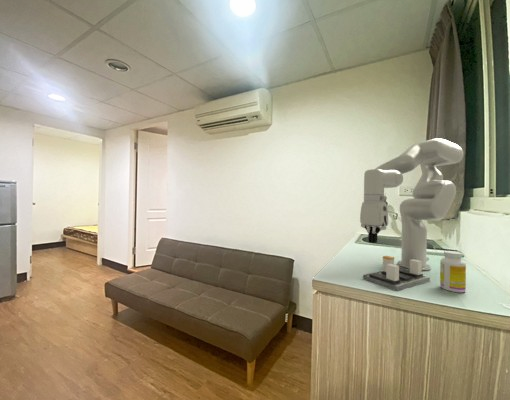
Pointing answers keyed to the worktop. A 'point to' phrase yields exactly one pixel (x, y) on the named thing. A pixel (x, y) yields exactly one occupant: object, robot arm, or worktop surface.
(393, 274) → the block
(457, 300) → the worktop surface
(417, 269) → the block
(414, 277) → the panel
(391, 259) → the block
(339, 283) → the worktop surface
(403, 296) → the worktop surface
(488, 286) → the worktop surface
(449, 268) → the supplement bottle
